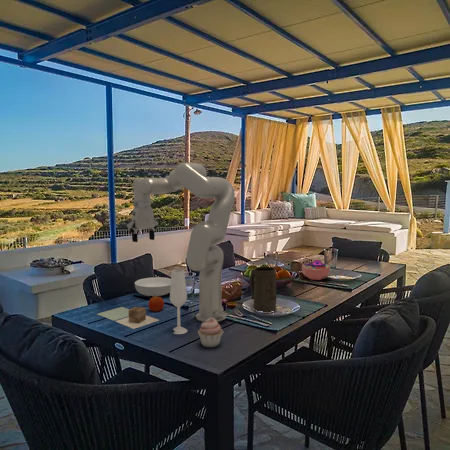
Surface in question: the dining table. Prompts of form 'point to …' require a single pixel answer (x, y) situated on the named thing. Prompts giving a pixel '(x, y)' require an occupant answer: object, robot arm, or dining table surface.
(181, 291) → the champagne flute
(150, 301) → the fruit
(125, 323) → the cream mat
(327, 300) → the dining table surface
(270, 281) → the beer stein
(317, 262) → the cell model
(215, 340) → the cupcake
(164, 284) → the serving bowl
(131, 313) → the walnut block
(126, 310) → the pale sage mat
